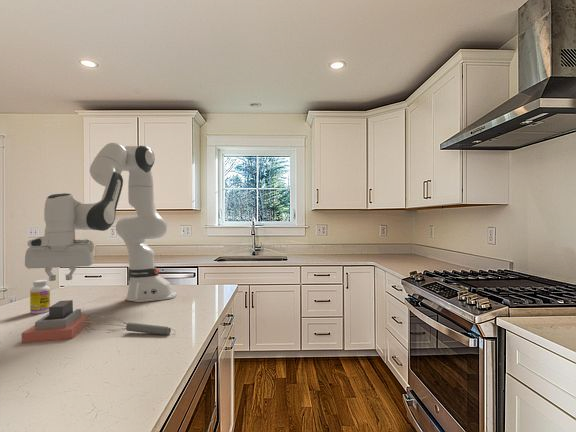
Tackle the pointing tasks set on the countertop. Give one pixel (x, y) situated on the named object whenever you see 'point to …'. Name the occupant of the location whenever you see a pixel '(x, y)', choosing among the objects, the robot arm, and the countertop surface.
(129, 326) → the kitchen whisk
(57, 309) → the dark gray eraser
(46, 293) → the supplement bottle
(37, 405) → the countertop surface
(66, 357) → the countertop surface
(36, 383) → the countertop surface
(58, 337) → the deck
